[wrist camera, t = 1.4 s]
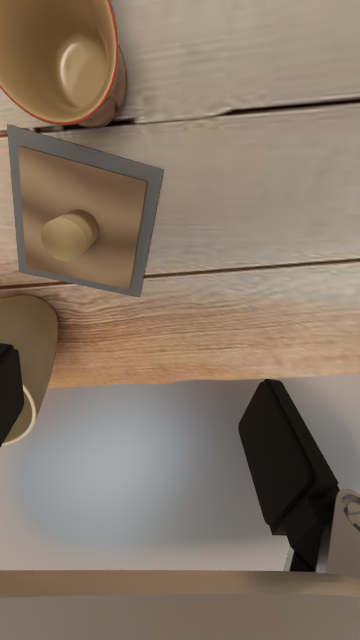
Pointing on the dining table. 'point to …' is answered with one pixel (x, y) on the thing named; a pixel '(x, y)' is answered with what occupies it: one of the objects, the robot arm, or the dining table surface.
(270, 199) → the dining table surface
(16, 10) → the mug
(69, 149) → the mat
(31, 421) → the plant pot
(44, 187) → the lid
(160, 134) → the dining table surface
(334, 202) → the dining table surface
